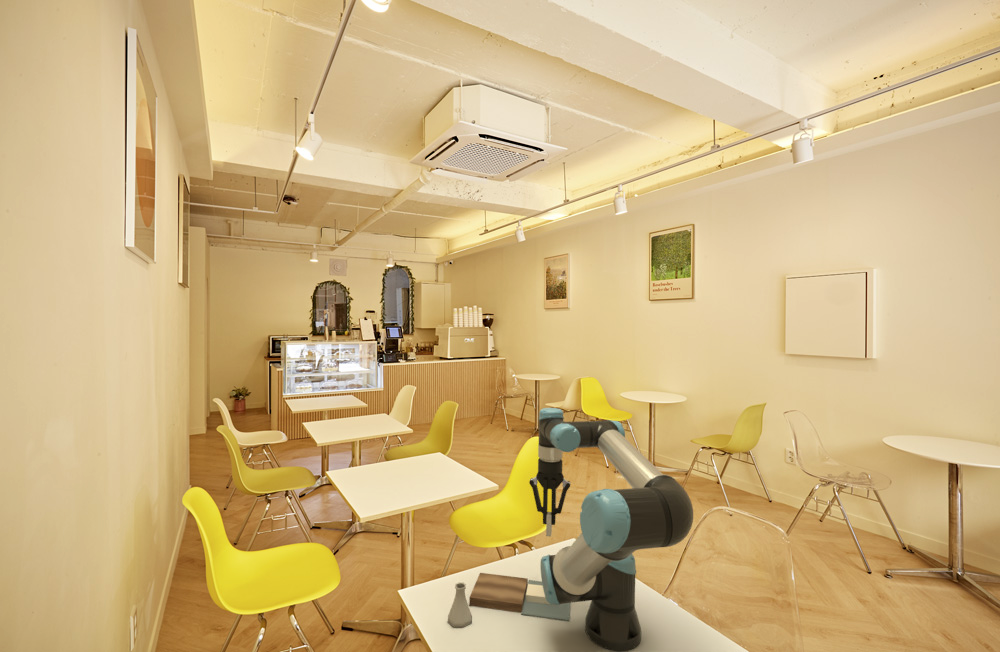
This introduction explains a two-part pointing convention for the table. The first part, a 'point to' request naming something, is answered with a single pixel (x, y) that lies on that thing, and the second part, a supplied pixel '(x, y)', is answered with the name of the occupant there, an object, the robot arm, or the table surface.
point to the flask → (460, 608)
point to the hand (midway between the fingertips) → (548, 534)
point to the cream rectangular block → (536, 594)
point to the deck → (499, 592)
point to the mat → (545, 608)
